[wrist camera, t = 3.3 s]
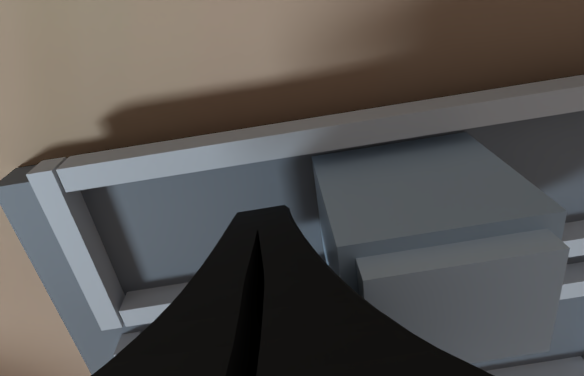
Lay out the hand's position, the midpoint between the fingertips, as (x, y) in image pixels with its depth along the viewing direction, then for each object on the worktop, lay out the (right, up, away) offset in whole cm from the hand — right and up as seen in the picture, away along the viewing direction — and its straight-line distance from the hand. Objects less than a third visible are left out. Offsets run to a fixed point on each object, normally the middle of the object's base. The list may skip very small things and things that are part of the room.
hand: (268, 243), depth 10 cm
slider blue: (+3, +1, +1) cm, 4 cm away
